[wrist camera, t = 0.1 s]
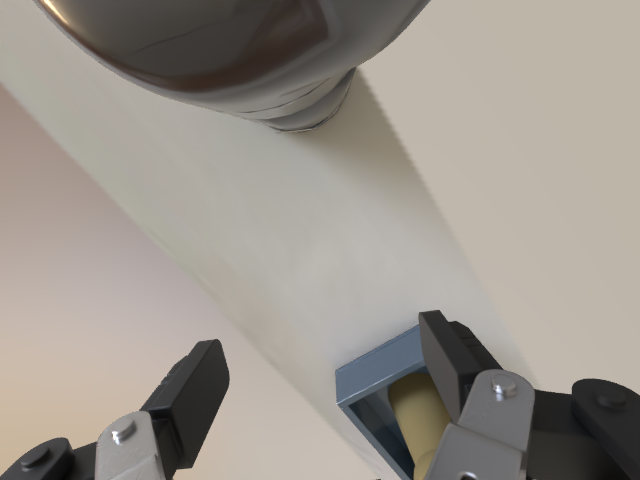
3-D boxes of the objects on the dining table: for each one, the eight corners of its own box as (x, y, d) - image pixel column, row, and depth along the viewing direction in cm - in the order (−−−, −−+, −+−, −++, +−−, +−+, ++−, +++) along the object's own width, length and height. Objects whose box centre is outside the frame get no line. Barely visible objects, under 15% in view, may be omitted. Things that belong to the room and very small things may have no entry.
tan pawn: (453, 384, 33) (511, 496, 23) (424, 422, 35) (466, 542, 24) (404, 364, 32) (442, 471, 22) (378, 404, 34) (401, 520, 24)
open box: (335, 370, 33) (336, 404, 29) (427, 319, 31) (444, 347, 27) (401, 451, 37) (411, 491, 33) (489, 410, 35) (512, 447, 30)
